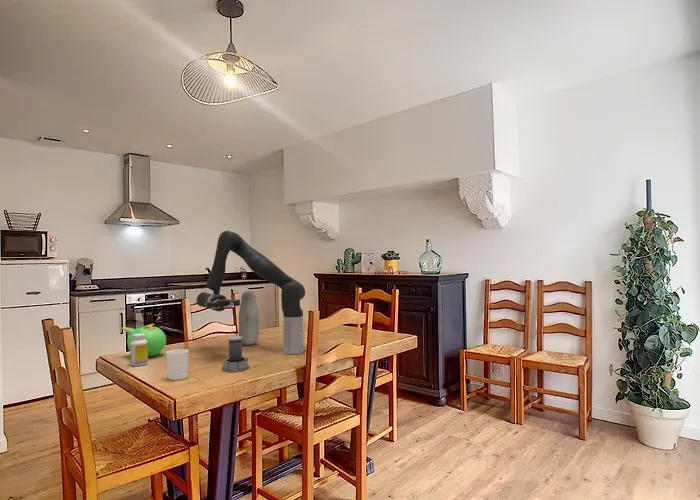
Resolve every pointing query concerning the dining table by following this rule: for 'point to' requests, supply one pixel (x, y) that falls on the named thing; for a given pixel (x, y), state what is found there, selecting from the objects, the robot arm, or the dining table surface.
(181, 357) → the white cup
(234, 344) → the white-topped grey cylinder
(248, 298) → the grey bottle
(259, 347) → the dining table surface
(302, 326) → the robot arm
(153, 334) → the toy bird
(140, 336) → the supplement bottle
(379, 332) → the dining table surface
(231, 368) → the octagonal ring holder
